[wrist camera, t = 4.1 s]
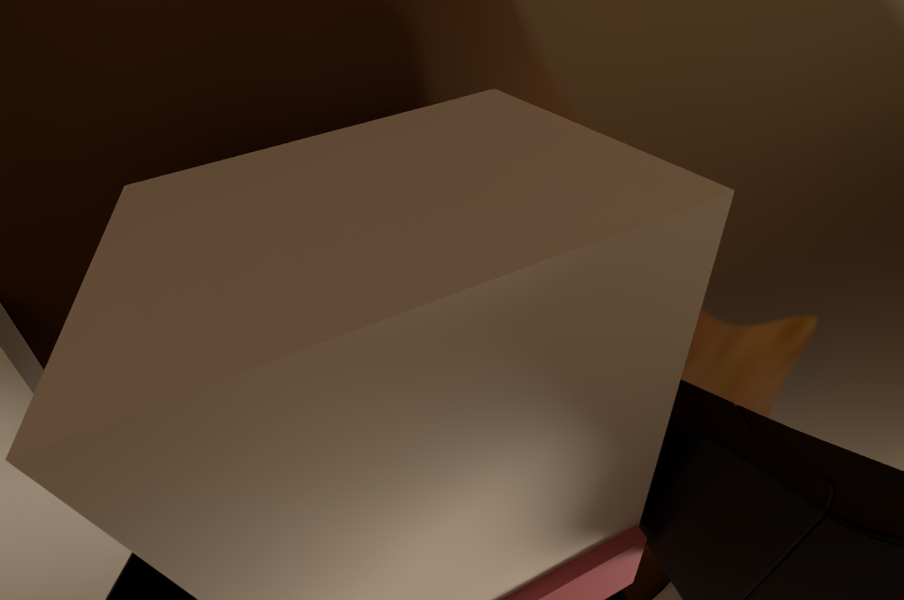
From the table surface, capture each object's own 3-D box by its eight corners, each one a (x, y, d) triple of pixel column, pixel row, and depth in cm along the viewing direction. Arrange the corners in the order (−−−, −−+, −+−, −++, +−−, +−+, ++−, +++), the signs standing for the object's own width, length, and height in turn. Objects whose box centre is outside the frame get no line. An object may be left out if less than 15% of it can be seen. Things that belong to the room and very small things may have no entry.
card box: (124, 185, 6) (-11, 497, 2) (494, 88, 7) (759, 200, 4) (323, 499, 11) (370, 740, 8) (516, 412, 13) (633, 586, 9)
